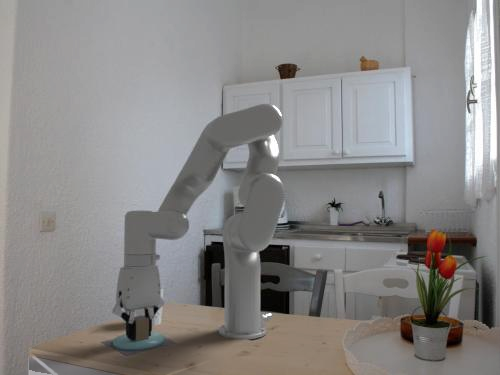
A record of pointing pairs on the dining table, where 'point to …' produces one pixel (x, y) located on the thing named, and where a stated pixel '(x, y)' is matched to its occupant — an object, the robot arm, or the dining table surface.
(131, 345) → the lid
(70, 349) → the dining table surface
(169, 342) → the mat
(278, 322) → the dining table surface
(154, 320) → the white cup
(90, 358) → the dining table surface
